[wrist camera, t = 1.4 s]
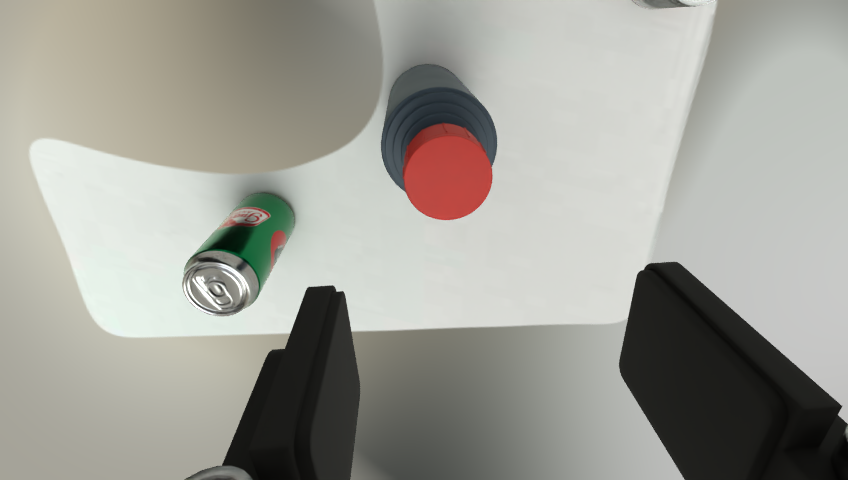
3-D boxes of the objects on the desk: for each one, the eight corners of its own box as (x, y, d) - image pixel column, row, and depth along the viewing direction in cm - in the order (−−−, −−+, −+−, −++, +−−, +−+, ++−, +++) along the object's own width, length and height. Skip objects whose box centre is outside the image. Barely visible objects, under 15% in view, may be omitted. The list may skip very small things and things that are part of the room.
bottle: (382, 135, 36) (365, 226, 20) (397, 55, 33) (390, 86, 17) (455, 151, 37) (494, 249, 21) (475, 74, 34) (538, 121, 18)
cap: (396, 192, 21) (396, 211, 19) (413, 115, 20) (414, 126, 18) (471, 207, 22) (478, 227, 20) (493, 133, 20) (504, 146, 18)
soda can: (280, 183, 37) (231, 247, 27) (305, 232, 40) (268, 309, 29) (228, 200, 38) (159, 270, 27) (255, 247, 40) (202, 329, 30)
